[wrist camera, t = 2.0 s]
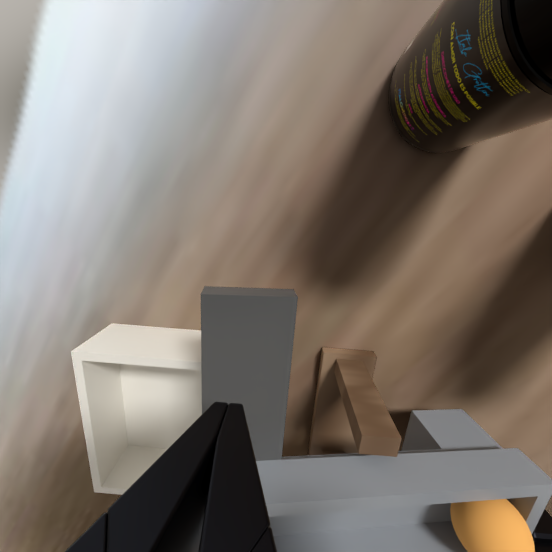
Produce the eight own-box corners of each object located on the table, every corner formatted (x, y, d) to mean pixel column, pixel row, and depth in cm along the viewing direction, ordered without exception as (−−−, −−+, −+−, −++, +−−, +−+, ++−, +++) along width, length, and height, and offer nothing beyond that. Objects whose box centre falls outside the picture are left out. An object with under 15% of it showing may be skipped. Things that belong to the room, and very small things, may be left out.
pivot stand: (373, 351, 20) (423, 434, 13) (352, 459, 23) (382, 575, 16) (322, 347, 20) (343, 427, 13) (307, 455, 23) (318, 569, 16)
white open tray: (258, 456, 23) (253, 506, 19) (125, 444, 23) (94, 492, 20) (266, 335, 20) (262, 367, 16) (111, 323, 20) (70, 351, 16)
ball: (475, 507, 16) (539, 584, 13) (429, 518, 16) (485, 603, 12) (491, 466, 15) (565, 537, 12) (443, 475, 15) (509, 555, 11)
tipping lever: (503, 282, 16) (636, 324, 11) (442, 468, 20) (515, 568, 15) (212, 270, 14) (190, 315, 8) (211, 482, 18) (196, 604, 13)
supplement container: (435, 179, 17) (665, 141, 7) (359, 104, 16) (496, -77, 6) (524, 84, 15) (1003, -155, 5) (447, -5, 14) (851, -525, 4)
